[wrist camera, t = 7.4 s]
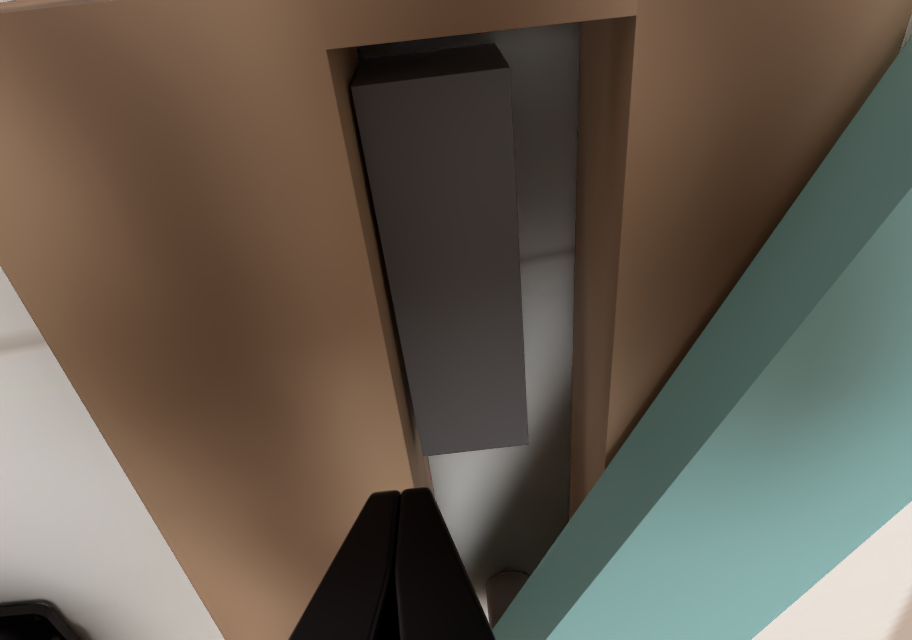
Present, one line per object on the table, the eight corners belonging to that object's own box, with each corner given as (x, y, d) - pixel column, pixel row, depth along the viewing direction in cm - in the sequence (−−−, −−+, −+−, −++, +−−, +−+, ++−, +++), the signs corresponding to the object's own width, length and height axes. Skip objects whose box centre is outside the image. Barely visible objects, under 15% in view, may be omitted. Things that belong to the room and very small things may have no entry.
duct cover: (439, 705, 22) (441, 799, 19) (973, -54, 9) (1170, -45, 6) (573, 720, 23) (590, 810, 21) (1213, 75, 10) (1451, 120, 8)
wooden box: (293, 619, 26) (274, 722, 22) (10, 1, 12) (-142, 29, 9) (671, 583, 26) (708, 681, 22) (800, -88, 12) (943, -93, 9)
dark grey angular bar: (422, 456, 17) (528, 444, 17) (350, 87, 11) (510, 67, 11) (422, 387, 19) (513, 376, 19) (363, 56, 14) (492, 41, 13)
